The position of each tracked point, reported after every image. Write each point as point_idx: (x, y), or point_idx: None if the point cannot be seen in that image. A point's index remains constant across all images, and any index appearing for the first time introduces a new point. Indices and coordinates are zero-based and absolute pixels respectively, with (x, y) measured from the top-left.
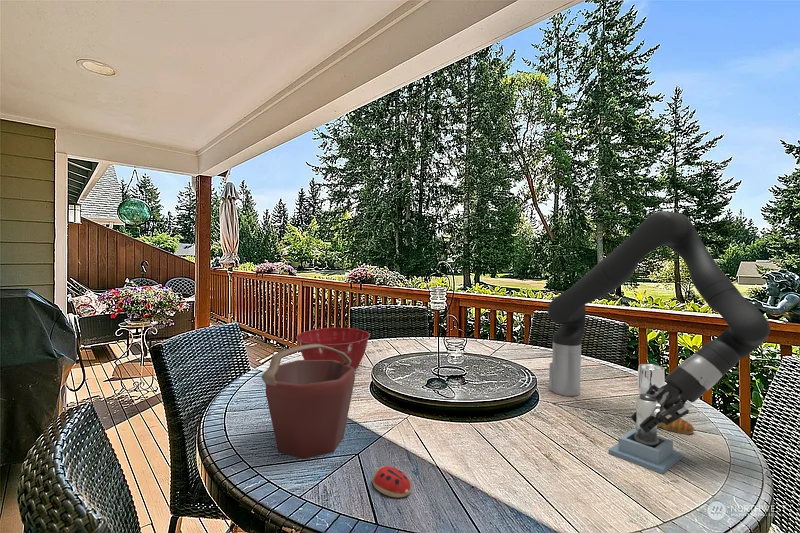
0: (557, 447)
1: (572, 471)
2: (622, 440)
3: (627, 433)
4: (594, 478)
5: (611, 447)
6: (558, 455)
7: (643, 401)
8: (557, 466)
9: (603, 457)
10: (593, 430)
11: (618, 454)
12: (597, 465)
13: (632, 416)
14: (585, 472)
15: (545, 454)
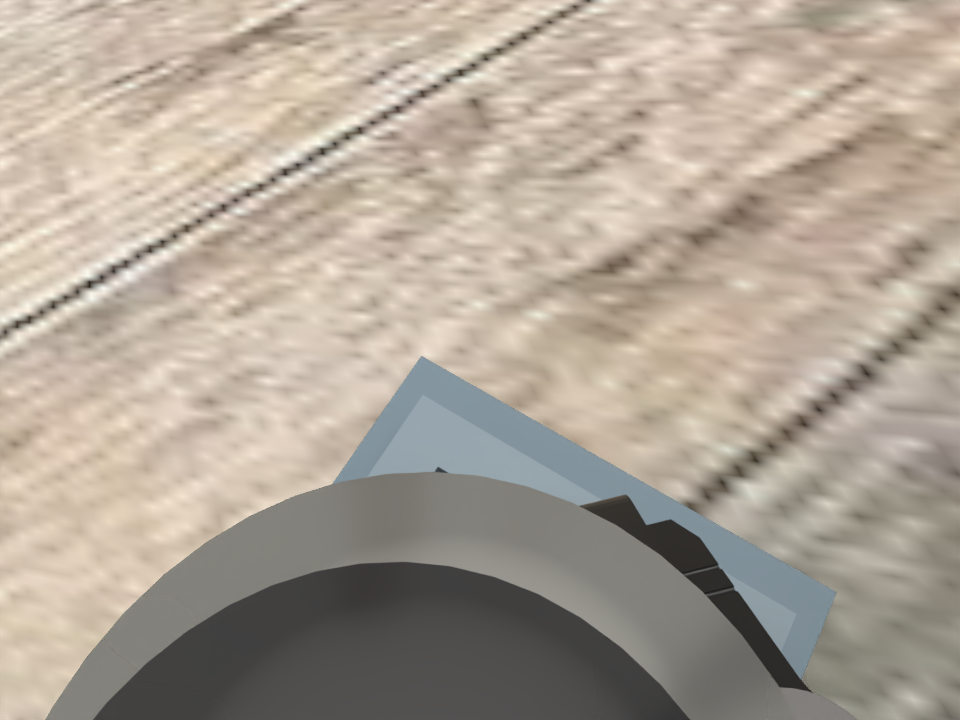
0: (408, 73)
1: (101, 150)
2: (404, 432)
3: (582, 501)
4: (30, 258)
5: (465, 381)
6: (293, 81)
7: (98, 657)
8: (149, 81)
9: (344, 330)
10: (851, 291)
11: (374, 429)
12: (208, 284)
13: (591, 511)
14: (99, 214)
15: (287, 23)
